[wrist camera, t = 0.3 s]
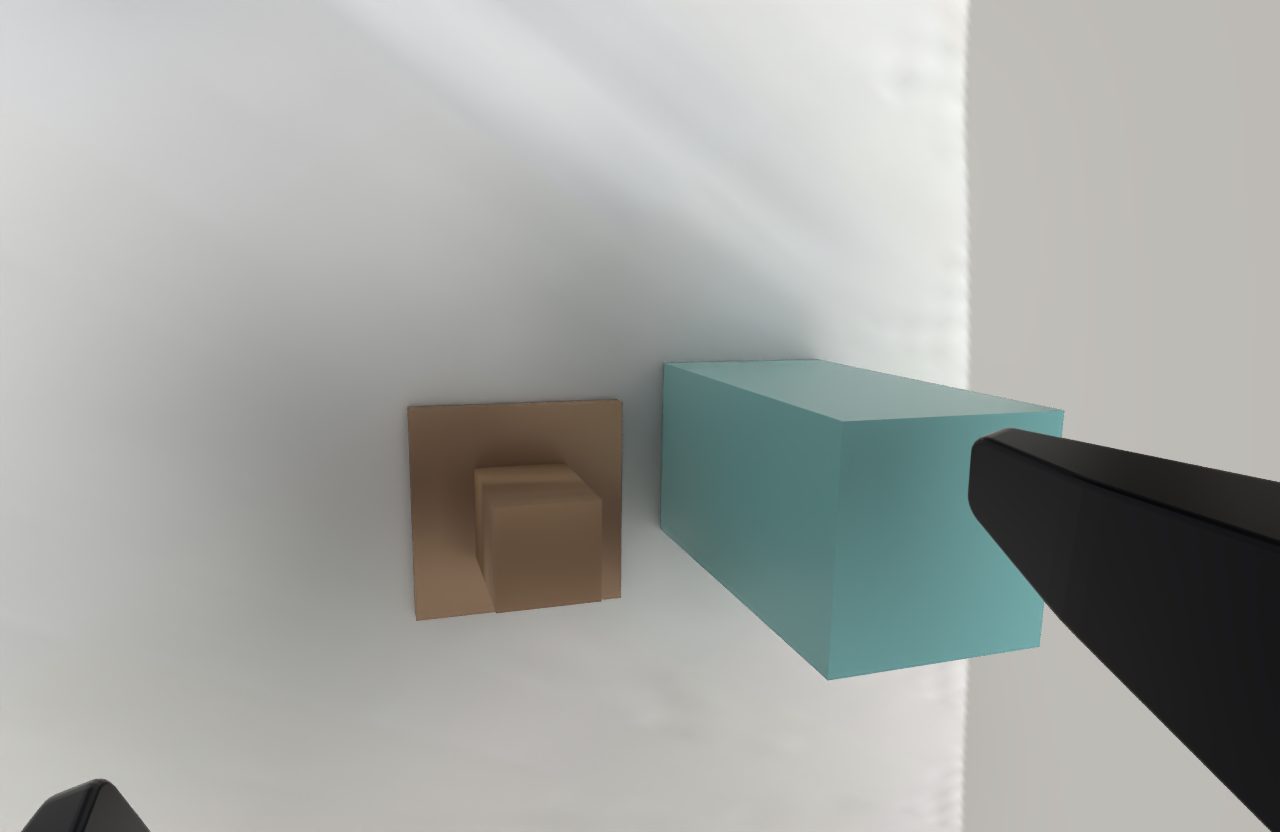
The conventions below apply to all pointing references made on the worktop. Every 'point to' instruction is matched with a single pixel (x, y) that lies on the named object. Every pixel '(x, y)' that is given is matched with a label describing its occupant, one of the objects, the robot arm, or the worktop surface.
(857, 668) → the teal rectangular block
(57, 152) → the worktop surface
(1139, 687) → the robot arm
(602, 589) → the brown pedestal
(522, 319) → the worktop surface
